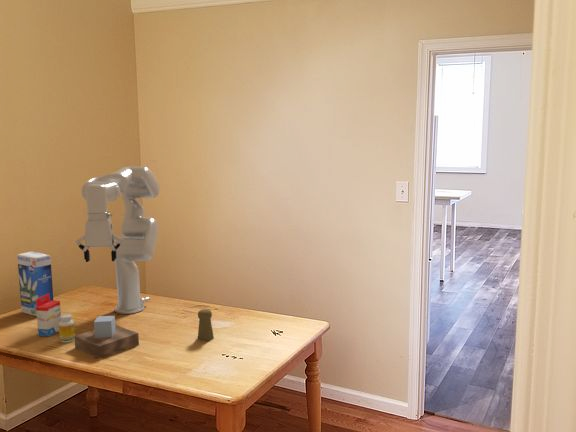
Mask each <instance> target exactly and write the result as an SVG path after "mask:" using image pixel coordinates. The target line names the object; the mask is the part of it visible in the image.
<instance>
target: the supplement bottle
mask: <svg viewBox="0 0 576 432" xmlns="http://www.w3.org/2000/svg"><path fill="white" fill-rule="evenodd" d="M60 320H61V321H60V322H59V331H58V332H59V341H60V342H61V343H63V344H64V343H71V342H75V339H74V336H76V334H75V321H74V320H73V315H72V313H71V314H70V313H67V314H65V313H64V314H61V316H60Z"/></svg>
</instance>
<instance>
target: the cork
mask: <svg viewBox="0 0 576 432" xmlns="http://www.w3.org/2000/svg"><path fill="white" fill-rule="evenodd" d="M212 313H213V312H212V311H211V310H210V309H207V308H204V309H200V310H198V312H197V317H198V319H199V321H198V329H197V330H198V332H197V340H198V341H200V342H208V341H212V340H214V339H215V336H214V331H213V324H212V319H211V318H212V317H213V314H212Z"/></svg>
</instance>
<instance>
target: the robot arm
mask: <svg viewBox="0 0 576 432" xmlns="http://www.w3.org/2000/svg"><path fill="white" fill-rule="evenodd" d="M160 191H161V190H160V184H159V182H158V180H157V178H156V176H155V175H154V173H153V171H152V170H151V169H149V168H148V167H147V166H141V165H139V166H134V165H133V166H124V167H121V168H119V169H117V170H116V171H114V172H113V173H108V174H104V175H101V176H99V175H98V176H96V177H93V178H90V179H88V180H87V181H85V182H84V184H83V185H82V187H81V196H82V198H83V199H84V200H86V216H87V220H85V226H84V235H83V236H82V237H80V238H77V239H76V240H75V243H76V245H77V246H78V248H79V249H80V250H81V251H82V252H83V259H84V260H85V262H86V263H88V262H89V261H91V260H90V259H91V258H90V250H89V249H90V248H95V247H96V248H97V247H98V248H100V247H102V248H103V247H104V248H105V247H109V249H111V252H110V254H111V262H114V266H115V275H116V276H115V278H116V279H115V280H116V296H117V305H116V306H115V307H114V312H115V313H117V314H121V315H126V314H127V315H129V314H137V313H139V312H142V311H143V310H144V309H145V304H144V303H146V302H150V299H151V298H150V296H146V297H144V296H142V297H141V290H140V286H141V285H140V271H139V267H138V265H137V264H136V261H138V262H139V261H140V262H141V261H142V262H143V261H146V262H147V261H151V259H153V256H154V253H155V250H156V245H157V240H158V235H159V225H158V221H157V220H156V219H155V218H153V217H145V212H146V211H145V208H144V207H143V205H142V204H141V203H140V201H139V200H138V199H156V198H157V197H158V196H159V194H160ZM120 195H121V197H122V201H123V205H124V213H123V218H122V223H121V227H120V234H121V236H122V237H120V236H118V235H116V234H114V228H113V227H114V226H113V223H112V219H110V218H112V217H113V213H110V212H109V203H108V202H114V201H116V200H118V199H119V198H120ZM83 241H84V244H85V245H84V244H83V243H82V242H83Z"/></svg>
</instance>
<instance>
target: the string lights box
mask: <svg viewBox="0 0 576 432" xmlns="http://www.w3.org/2000/svg"><path fill="white" fill-rule="evenodd" d="M51 256H52V255H50V254H45V253H42V252H35V251H28V252H23V253H19V254H16V257H17V268H18V269H17V271H18V283H19V293H20V309H21V313H23V314H27V315H31V316H35V317H37V311H36V299H38V298H40V297H42V296H44V295H46V294H48V293H49V299H50V300H51V301H54V290H53V275H52V259H51ZM43 300H45V298H43V299H42V300H41V301H43Z"/></svg>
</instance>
